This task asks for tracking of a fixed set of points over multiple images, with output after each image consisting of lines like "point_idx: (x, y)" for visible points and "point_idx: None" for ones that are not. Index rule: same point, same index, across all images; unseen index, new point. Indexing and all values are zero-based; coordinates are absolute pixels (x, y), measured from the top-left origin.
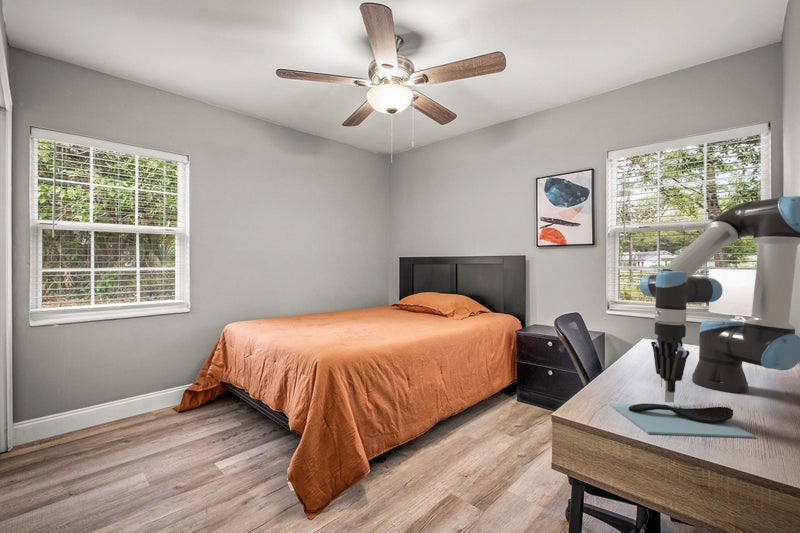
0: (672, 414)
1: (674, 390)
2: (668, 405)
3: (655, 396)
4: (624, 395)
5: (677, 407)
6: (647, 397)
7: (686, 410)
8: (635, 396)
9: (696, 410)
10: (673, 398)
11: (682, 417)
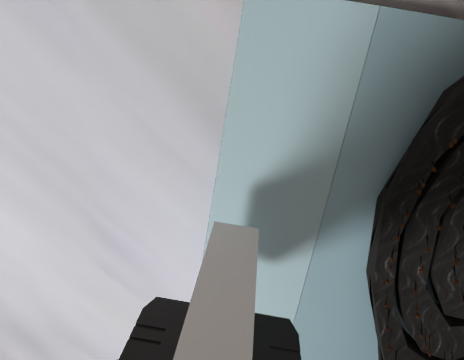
0: None
1: (295, 341)
2: (215, 214)
3: (15, 147)
4: (23, 351)
5: (276, 197)
6: (46, 230)
7: (417, 263)
8: (35, 298)
9: (448, 188)
10: (255, 251)
11: None
